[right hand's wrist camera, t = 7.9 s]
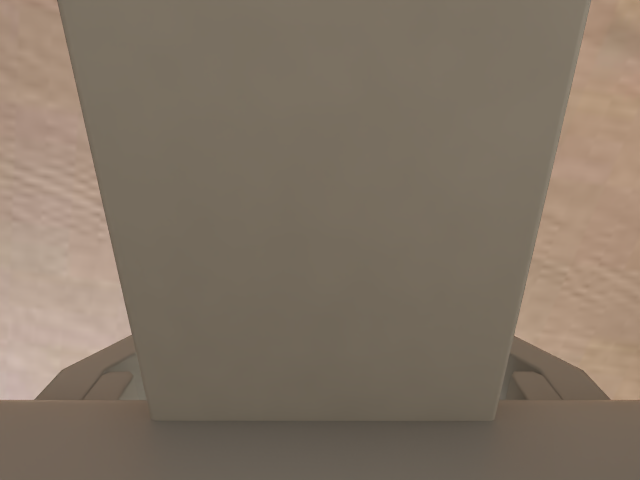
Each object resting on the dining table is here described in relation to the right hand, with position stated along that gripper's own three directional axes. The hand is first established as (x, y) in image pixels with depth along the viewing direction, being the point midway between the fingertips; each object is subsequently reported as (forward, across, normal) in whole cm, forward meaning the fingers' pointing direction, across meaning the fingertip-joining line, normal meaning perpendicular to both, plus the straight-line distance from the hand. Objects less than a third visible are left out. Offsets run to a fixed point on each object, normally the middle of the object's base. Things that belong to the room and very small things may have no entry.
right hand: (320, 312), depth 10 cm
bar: (+3, 0, -8) cm, 8 cm away
